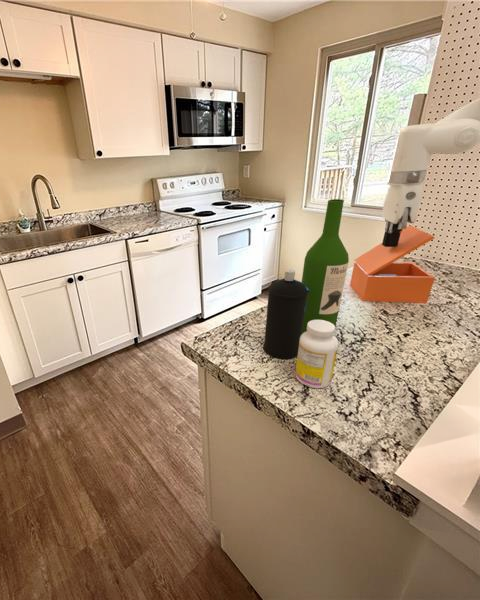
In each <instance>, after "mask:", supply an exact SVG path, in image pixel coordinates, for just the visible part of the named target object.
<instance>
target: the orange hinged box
mask: <svg viewBox="0 0 480 600" xmlns="http://www.w3.org/2000/svg"><path fill="white" fill-rule="evenodd" d="M377 274H396V275H397V276H377ZM435 279H436V277H435V276H434V275H432V274H431V273H429V272H428V271H426V270H425V269H423V268H422V267H421V266H419V265H418V264H416V263H415V262H413V261H411V262H409V261H407V262H406V261H405V262H404V261H401V262H400V261H398V262H397V261H395V262H393V263H391V264H390V265H388V266H386V267H384V268H383V269H381V270H379V271H377V272H376V273H374V274H372V275H371V276H369V275H368V274H367V273H366V272H365V271H364V270H363V269H362V268H361V267H360V266H359V265H358V264H357V263H356V262H355V261H354V263H353V268H352V272H351V277H350V283H349V286H351V288H352V289H353V291H354V292H355V293H356V294H357V296H358V297H359V298H360V300H361V301H362V302H375V303H376V302H380V303H412V304H427V303H428V300H429V297H430V293H431V291H432V288H433V286H434V282H435Z"/></svg>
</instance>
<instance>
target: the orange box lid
mask: <svg viewBox="0 0 480 600" xmlns="http://www.w3.org/2000/svg"><path fill="white" fill-rule="evenodd" d="M434 239H435V236H433V235H431V234H430V233H427V232H425V231H424V230H421V229H419V228H417V227H416V226H413V225H408V226H407V227H406V229H403V230H402V232H401V234H400V238H399V242H398V245H397V246H396V247H385V246H383V245H382V243H383V241H382V242H381V243H379V244H378V245H376V246H374V247H373V248H371V249H370V250H368V251H366V252H365V253H363V254H362V255H360V256H359V257H357V258H355V259H353V260H354V263H355V262H356V263H357V264H358V265H359V266H360V267H361V268H362V269H363V270H364V271H365V272H366V273H367V274H368V275H369V276H371V275H372V274H374V273H376V272H377V271H379V270H381V269H383V268H384V267H386V266H388V265H390V264H391V263H393V262H397V261H399V260H400V259H401V258H403V257H405V256H407V255H409V254H410V253H412V252H414V251H415V250H417V249H419V248H421V247H422V246H424V245H426V244H428V243H429V242H431V241H433V240H434Z"/></svg>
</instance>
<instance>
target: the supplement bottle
mask: <svg viewBox="0 0 480 600" xmlns="http://www.w3.org/2000/svg"><path fill="white" fill-rule="evenodd" d="M335 333H336V327H335V326H334V324H332V323H330V322H328V321H325V320H311V321H309V322H308V324H307V331H306V332H304V333H303V334H302V335H301V337H300V341H299V349H298V356H297V357H296V365H295V372H294V373H295V378H296V379H297V380H298V381H299V382H300V384H302V385H305V386H306V387H309V388H312V389H324V388H327V387H328V386H330V385H331V383H332V380H333V376H334V370H335V365H336V360H337V355H338V349H339V341H338V338H337V337H336V336H335Z"/></svg>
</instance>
